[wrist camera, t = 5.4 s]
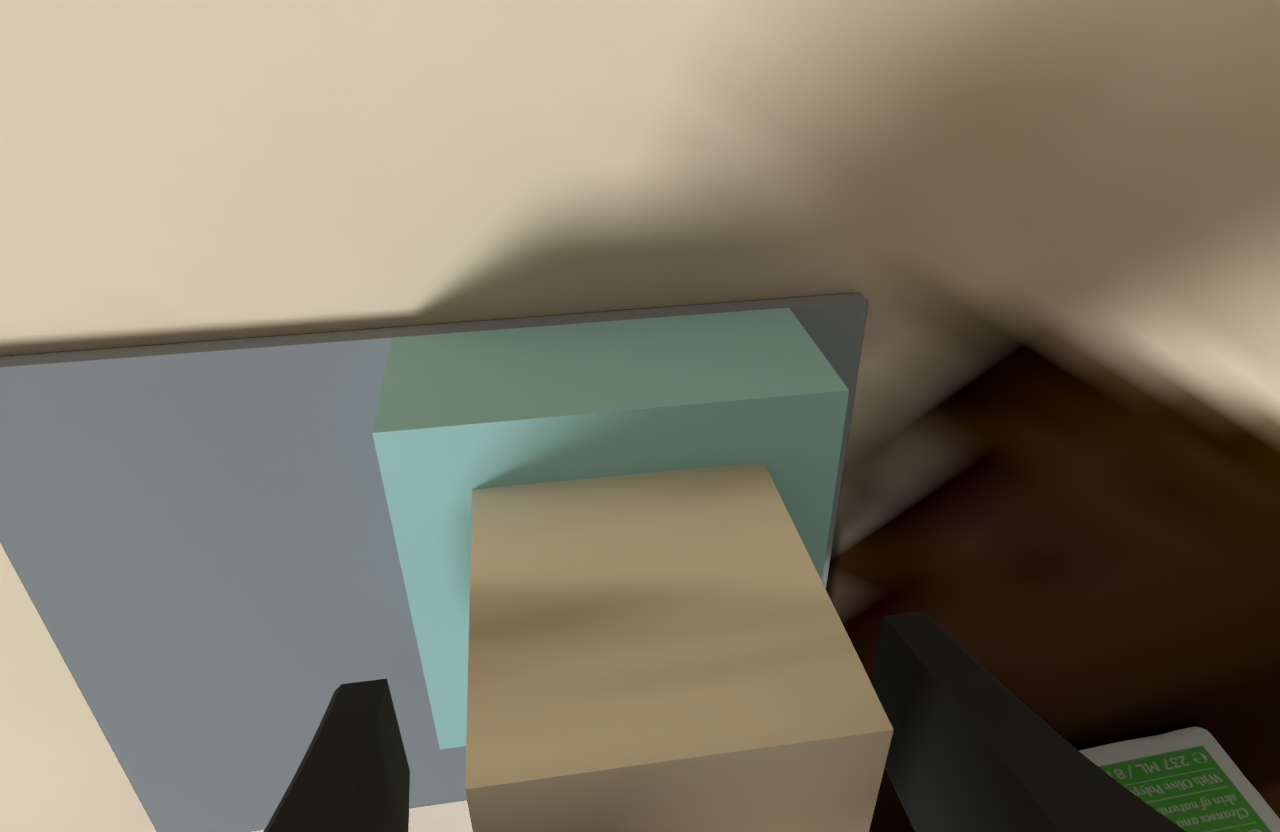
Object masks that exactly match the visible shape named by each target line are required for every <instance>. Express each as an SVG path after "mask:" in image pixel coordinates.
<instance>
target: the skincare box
mask: <svg viewBox="0 0 1280 832" xmlns="http://www.w3.org/2000/svg"><path fill="white" fill-rule="evenodd" d="M1078 751H1079V752H1081V753H1082V754H1083V755H1084V756H1086V757H1087V758H1088V759H1089V760H1091V761H1092V762H1093V763H1094V764H1096V765H1097V766H1098V767H1100V768H1101V769H1102V770H1103V771H1105V772H1106V773H1107V774H1108V775H1110V776H1111V777H1112V778H1113V779H1115V780H1116V781H1117V782H1119V783H1120V784H1121V785H1122V786H1124V787H1125V788H1126V789H1128V790H1129V791H1130V792H1132V793H1133V794H1134V795H1136V796H1137V797H1138V798H1140V799H1141V800H1143V801H1144V802H1145V803H1147V804H1148V805H1149V806H1151V807H1152V808H1154V809H1155V810H1157V811H1158V812H1159V813H1161V814H1162V815H1164V816H1165V817H1166V818H1168V819H1169V820H1171V821H1172V822H1174V823H1175V824H1176V825H1178V826H1179V827H1181V828H1182V829H1183V830H1185V831H1186V832H1280V819H1279V818H1278V816H1277V815H1276V814H1275V813H1274V811H1273V810H1272V809H1271V808H1270V806H1269V805H1268V804H1267V803H1266V801H1265V800H1264V799H1263V798H1262V796H1261V795H1260V794H1259V793H1258V791H1257V790H1256V789H1255V788H1254V787H1253V786H1252V784H1251V783H1250V782H1249V781H1248V780H1247V779H1246V777H1245V776H1244V775H1243V774H1242V772H1241V771H1240V770H1239V768H1238V767H1237V766H1236V765H1235V763H1234V762H1233V761H1232V760H1231V758H1230V757H1229V756H1228V755H1227V753H1226V752H1225V751H1224V749H1223V748H1222V747H1221V746H1220V744H1219V743H1218V742H1217V741H1216V740H1215V738H1214V737H1213V736H1212V735H1211V734H1210V733H1209V732H1208V731H1207V730H1206V729H1203V728H1200V727H1189V728H1184V729H1180V730H1175V731H1171V732H1167V733H1164V734H1160V735H1155V736H1148V737H1143V738H1137V739H1131V740H1126V741H1120V742H1116V743H1111V744H1106V745H1101V746H1097V747H1093V748H1088V749H1083V750H1078Z"/></svg>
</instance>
